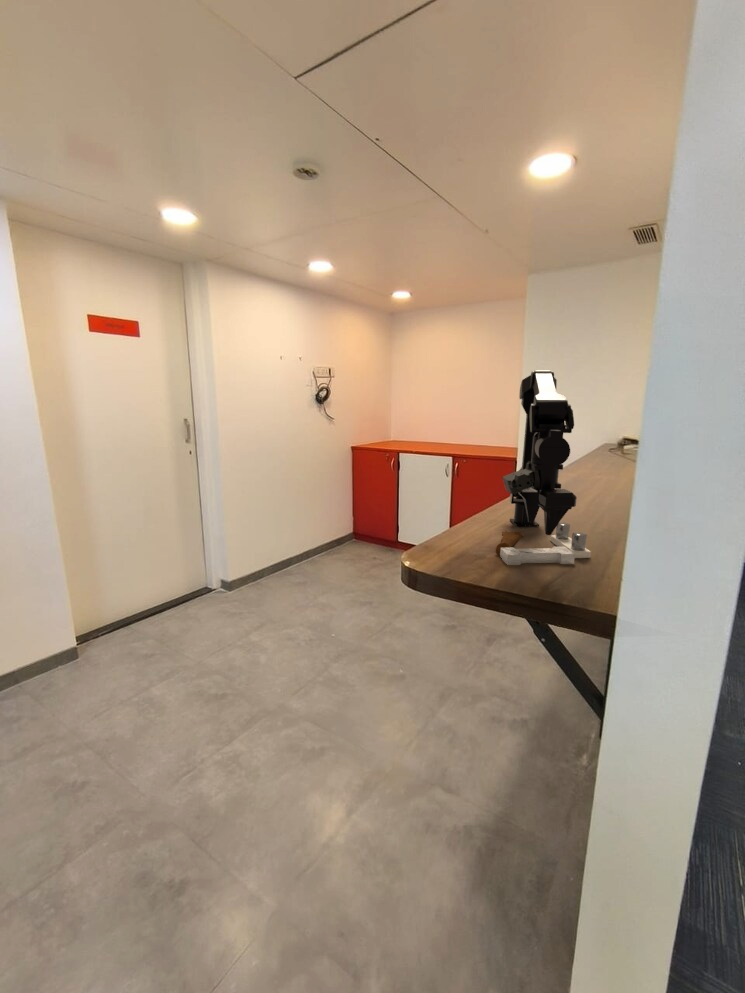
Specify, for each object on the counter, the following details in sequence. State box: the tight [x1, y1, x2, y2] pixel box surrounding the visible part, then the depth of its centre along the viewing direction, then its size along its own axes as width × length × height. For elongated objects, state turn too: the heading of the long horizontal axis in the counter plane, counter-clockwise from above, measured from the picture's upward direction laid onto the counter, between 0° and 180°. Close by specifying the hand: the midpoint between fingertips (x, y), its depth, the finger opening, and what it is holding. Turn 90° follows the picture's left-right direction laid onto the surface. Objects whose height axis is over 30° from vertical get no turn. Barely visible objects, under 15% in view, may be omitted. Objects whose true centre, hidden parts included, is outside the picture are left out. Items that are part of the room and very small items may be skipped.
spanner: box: [499, 546, 576, 566], centre depth 100 cm, size 5×15×2 cm, turn 93°
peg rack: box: [549, 521, 592, 559], centre depth 107 cm, size 12×4×5 cm, turn 3°
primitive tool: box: [495, 531, 524, 556], centre depth 110 cm, size 19×6×4 cm, turn 159°
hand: (539, 528), depth 98 cm, fingers open, 9 cm apart
